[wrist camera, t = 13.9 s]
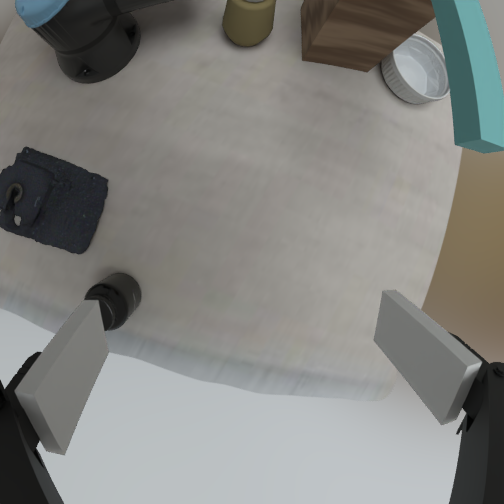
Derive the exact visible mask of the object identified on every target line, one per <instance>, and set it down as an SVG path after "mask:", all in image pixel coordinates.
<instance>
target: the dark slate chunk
mask: <svg viewBox="0 0 504 504" xmlns="http://www.w3.org/2000/svg"><path fill="white" fill-rule="evenodd" d="M107 182H108V180H107V179H106V178H104V177H101V176H100V175H99V174H96V173H90V172H88V171H87V170H86V169H83V168H81V167H78V166H76V165H74V164H71V163H70V162H66V161H65V160H61V159H58V158H55V157H53V156H51V155H47V154H45V153H41V152H39V151H36V150H34V149H32V148H29V147H24V148H23V150H22V152H21V153H17V156H16V160H15V163H14V165H13V166H8V167H7V168H6V169H3V170H2V172H1V174H0V210H1V209H2V210H1V212H0V227H1V228H3V229H4V230H6V231H8V232H11V233H14V234H17V235H20V236H24V237H27V238H32V239H35V241H36V242H40V243H42V244H45V245H51V246H53V247H58V248H60V249H65V250H67V251H69V252H71V253H77V254H82V253H83V252H84V251H85V250H86V249H87V248H88V246H89V243H90V240H91V238H92V235H93V233H94V232H95V230H96V226H97V222H98V219H99V217H100V215H101V213H102V210H103V205H104V199H106V197H107V191H108V187H107ZM15 215H16V216H20V217H21V221H20V225H19V226H17V225H16V223H15V221H14V217H15Z"/></svg>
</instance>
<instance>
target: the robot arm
mask: <svg viewBox="0 0 504 504" xmlns="http://www.w3.org/2000/svg"><path fill="white" fill-rule="evenodd" d="M168 1H173V0H16V1H15V7H16V11H17V13H18V14H19V16H20V17H21V18H22V19H23V21H24V22H25V24H26V25H27V26H28V27H30V28H32V29H33V30H34V31H35V32H36V33H37V34H38V35H39V36H40V37H41V38H43V39H44V40H45V41H46V42H47V43H48V44H49V45H50V46H51V47H52V48H54V49H55V52H56V56H57V59H58V63H59V66H60V68H61V69H62V71H63V72H64V73H65V74H66V75H67V76H68V77H70V78H71V79H72V80H74V81H77V82H80V83H94V82H99V81H102V80H104V79H107V78H109V77H111V76H113V75H114V74H116V73H117V72H119V71H120V70H121V69H122V68H124V67H125V66H126V65H127V64H128V62H129V61H130V60H131V59H132V57H133V56H134V54H135V53H136V51H137V49H138V46H139V43H140V29H139V26H138V24H137V22H136V20H135V18H134V17H133V16H132V15H131V14H130V13H129V12H131V11H134V10H138V9H141V8H145V7H148V6H152V5H156V4H160V3H164V2H168ZM374 341H375V343H376V344H377V345H378V346H379V347H380V349H381V350H382V351H383V352H384V354H385V355H386V356H387V357H388V358H389V360H390V361H391V362H392V363H393V365H394V366H395V367H396V368H397V370H398V371H399V372H400V373H401V374H402V376H403V377H404V378H405V379H406V381H407V382H408V383H409V384H410V386H411V387H412V388H413V390H414V391H415V392H416V393H417V395H418V396H419V397H420V398H421V400H422V401H423V402H424V403H425V405H426V406H427V407H428V409H429V410H430V411H431V412H432V414H433V415H434V416H435V417H436V419H437V420H438V421H439V423H440V424H441V425H444V424H447V423H449V422H452V421H454V420H456V419H457V417H458V415H459V413H460V411H461V409H462V408H463V409H464V411H465V412H466V415H465V417H464V419H463V421H462V423H461V425H460V427H459V428H458V431H457V433H456V434H459V432H460V431H461V430H462V436H461V443H460V450H459V457H458V463H457V469H456V474H455V479H454V484H453V489H452V493H451V498H450V502H449V504H504V363H501V362H493V363H490V364H489V363H488V362H487V361H486V360H484V358H482V357H481V356H480V355H479V354H478V353H477V352H475V351H474V350H473V349H471V348H470V347H469V346H468V345H467V344H465V342H464V341H462V340H461V339H460V338H459V337H458V336H456V335H454V334H451V333H449V332H447V331H446V330H445V329H443V328H442V327H441V326H439V324H437V323H436V322H435V321H434V320H433V319H431V318H430V317H429V316H428V315H426V314H425V313H424V312H423V311H422V310H420V309H419V308H418V307H417V306H415V305H414V304H413V303H412V302H410V301H409V300H408V299H407V298H405V297H404V296H403V295H402V294H400V293H399V292H398V291H397V290H388V291H383V292H382V298H381V304H380V309H379V315H378V320H377V325H376V331H375V335H374ZM108 353H109V349H108V345H107V341H106V336H105V331H104V327H103V322H102V317H101V312H100V306H99V301H98V300H83V301H82V302H81V304H80V305H79V306H78V307H77V309H76V310H75V311H74V312H73V313H72V315H71V316H70V317H69V318H68V320H67V321H66V322H65V323H64V325H63V326H62V327H61V328H60V330H59V331H58V332H57V333H56V335H55V336H54V337H53V339H52V340H51V341H50V343H49V344H48V345H47V346H46V348H45V349H44V350H43V352H36V353H35V354H33V355H32V356H30V357H29V358H28V359H27V360H26V361H25V363H24V364H23V365H22V368H20V369H19V370H18V372H17V374H15V376H14V377H13V378H12V380H11V381H10V383H9V384H8V385H7V387H6V388H5V389H4V387H3V385H2V383H1V380H0V504H64V503H63V501H62V499H61V497H60V495H59V493H58V491H57V489H56V487H55V485H54V483H53V482H52V480H51V477H50V475H49V473H48V471H47V469H46V467H45V465H44V462H43V460H42V458H41V456H40V454H39V452H38V450H37V449H36V447H37V445H38V443H39V441H41V443H42V445H43V446H44V448H45V450H46V451H48V452H52V453H57V454H61V455H65V453H66V450H67V448H68V446H69V443H70V440H71V438H72V435H73V433H74V430H75V428H76V426H77V423H78V421H79V418H80V416H81V414H82V411H83V409H84V406H85V404H86V402H87V400H88V397H89V395H90V393H91V390H92V388H93V386H94V384H95V381H96V379H97V377H98V375H99V373H100V371H101V368H102V366H103V364H104V362H105V360H106V358H107V356H108Z"/></svg>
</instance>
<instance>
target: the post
mask: <svg viewBox="0 0 504 504" xmlns="http://www.w3.org/2000/svg"><path fill="white" fill-rule="evenodd" d="M434 18H435V13H434V9H433V5H432V2H431V0H304V2H303V4H302V7H301V30H302V61H309V62H316V63H322V64H328V65H334V66H339V67H345V68H350V69H355V70H359V71H364V72H368V71H369V70H371V69H372V68H373V67H374V66H375V65H377V64H378V63H379V62H380V61H381V60H383V59H384V58H385V57H386V56H387V55H389V54H390V53H391V52H392V51H393V50H395V49H396V48H397V47H398V46H400V45H401V44H402V43H403V42H404V41H406V40H407V39H408V38H409V37H411V36H412V35H413V34H414V33H416V32H417V31H418V30H419V29H421V28H422V27H423V26H425V25H426V24H427V23H428V22H430V21H431V20H432V19H434Z"/></svg>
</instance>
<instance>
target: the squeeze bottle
mask: <svg viewBox="0 0 504 504" xmlns="http://www.w3.org/2000/svg"><path fill="white" fill-rule="evenodd" d="M275 4H276V0H227V4H226V8H225V12H224V16H223V23H222V26H223V28H224V30H225V32H226V34H227V35H228V37H229V38H230V39H231V40H232V41H233V42H234V43H235V44H237V45H240V46H247V47H249V46H253V45H256V44H258V43H259V42H261V41H262V40H263V39H265V38H266V37H267V36H269V34H270V32H271V31H272V29H273V21H274V12H275Z"/></svg>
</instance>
